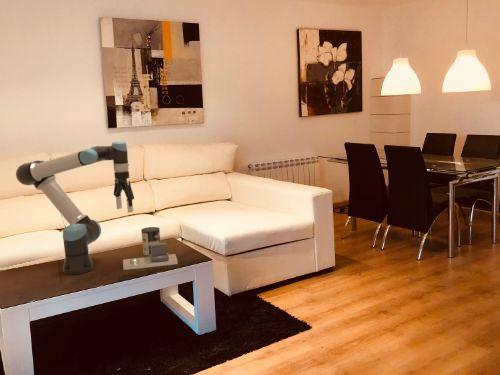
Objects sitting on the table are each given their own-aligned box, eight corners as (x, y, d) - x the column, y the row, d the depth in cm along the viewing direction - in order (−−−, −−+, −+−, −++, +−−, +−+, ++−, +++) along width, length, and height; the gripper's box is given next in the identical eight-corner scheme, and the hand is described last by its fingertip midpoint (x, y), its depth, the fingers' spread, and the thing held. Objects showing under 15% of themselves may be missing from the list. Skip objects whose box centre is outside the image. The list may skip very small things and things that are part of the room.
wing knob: (151, 262, 267) (150, 247, 266) (148, 257, 277) (147, 243, 276) (170, 260, 270) (169, 245, 269) (167, 254, 280) (166, 240, 278)
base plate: (123, 270, 264) (122, 264, 263) (123, 263, 275) (123, 257, 275) (177, 264, 270) (177, 258, 270) (175, 257, 282) (175, 251, 281)
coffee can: (163, 250, 296) (162, 226, 294) (157, 255, 287) (155, 231, 284) (147, 250, 299) (145, 226, 296) (140, 255, 289) (138, 231, 286)
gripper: (138, 172, 261) (141, 212, 265) (118, 168, 281) (121, 206, 284) (125, 174, 257) (128, 215, 260) (105, 170, 276) (108, 208, 280)
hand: (124, 210), depth 272 cm, fingers open, 13 cm apart
